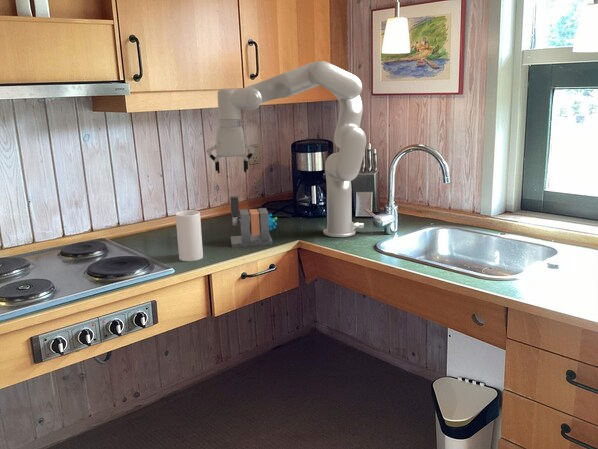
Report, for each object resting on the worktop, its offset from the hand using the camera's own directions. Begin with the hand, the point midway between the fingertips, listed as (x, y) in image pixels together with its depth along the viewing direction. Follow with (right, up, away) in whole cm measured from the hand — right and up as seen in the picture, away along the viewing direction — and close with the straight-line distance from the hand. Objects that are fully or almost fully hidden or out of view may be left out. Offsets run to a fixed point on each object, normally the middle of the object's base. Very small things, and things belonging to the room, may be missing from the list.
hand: (231, 172), depth 201 cm
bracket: (+6, -26, +8) cm, 28 cm away
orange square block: (+8, -18, +6) cm, 21 cm away
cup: (-13, -31, -8) cm, 34 cm away
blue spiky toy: (+11, -21, +26) cm, 36 cm away
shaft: (+5, -19, +6) cm, 21 cm away
